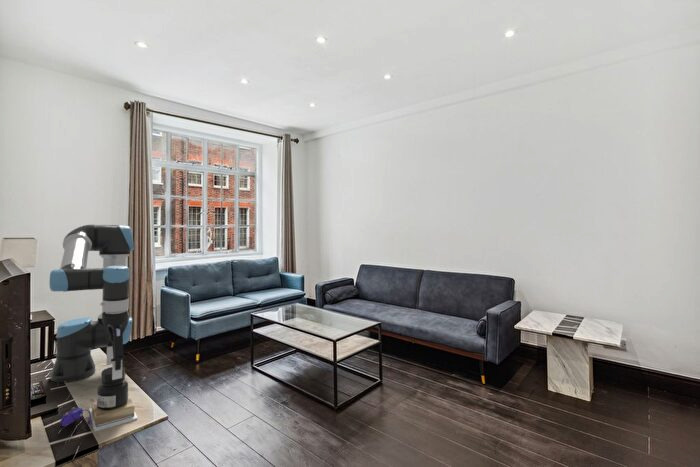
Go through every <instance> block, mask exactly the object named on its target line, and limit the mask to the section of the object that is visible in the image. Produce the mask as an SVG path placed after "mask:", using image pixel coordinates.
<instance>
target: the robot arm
mask: <svg viewBox="0 0 700 467" xmlns="http://www.w3.org/2000/svg"><path fill="white" fill-rule="evenodd" d="M62 248H63V250H64V251H63V253H62V254H63V255H62V259H61V262H60V267H59V268H58V269H53V270H51V271H50V273H49V290H50V291H51V292H63V293H65V292H72V291H73V292H74V291H95V290H102V296H101V297H102V301H101V302H100V304H99V305H100V306H101V313H100V314H99V315H98V316H97V320H93V319H92V318H91V317H80V318H75V319H71V320H67V321H64V322H63V323H61V324H60V325H59V324H58V326H57V329H56V336H55V337H56V353H55V354H56V355H55V356H56V357H55V358H56V359H55V362H54V363H53V364H54V365H53V367H52V369H51V372H50V378H49V379H50V381H52V382H55V383H68V382H75V381H79V380H83V379H86V378H88V377H90V376H92V375H93V374H95V373H96V364H95V361H94V359H93V355H92V349H96V348H104V347H105V348H106V366H110V365H111V367H112V380H115V379H119V378H122V367H123V360H124V359H125V354H124V345H126V344H127V343H128V342H129V340H130V338H131V333H132V326H133V317H131V316H130V314H129V311H128V310H129V308H130V304H129V302H130V298H129V290H130V278H131V275H130V268H129V267H128V266H127V259H128V257H129V256H131V252H132V251H135V246H134V236H133V231H132V228H131V226H129V225H120V224H117V225H116V224H86V225H82V226H81V225H80V226H79V227H77V228H74V229H73V230H71V231H69V232H68V233H67V234H66V236H65V237H64V239H63V242H62ZM89 252H99V253H98V255H99V256H100V257H101V258H102V259H103V260H102V261H103V262H102V263H103V264H102V268H101V267H98V268H97V267H96V268H87V267H88V265H87V264H88V258H89Z"/></svg>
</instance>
